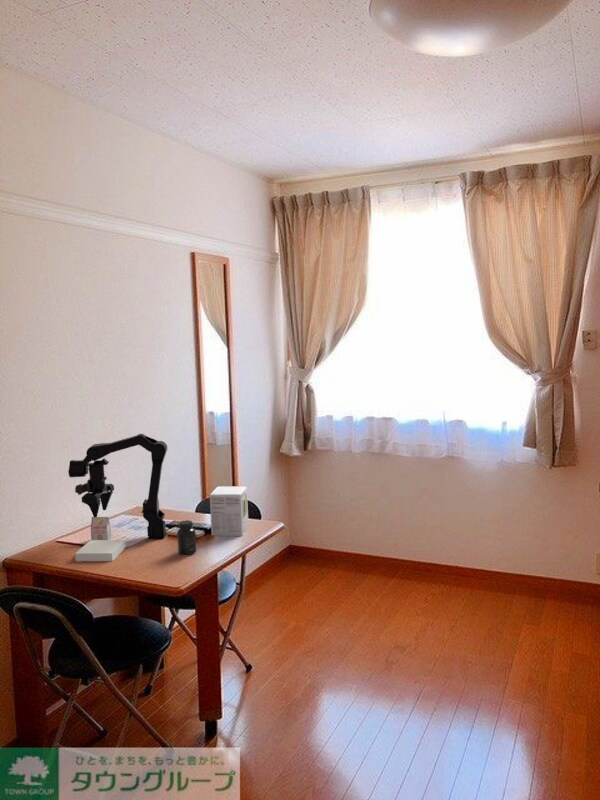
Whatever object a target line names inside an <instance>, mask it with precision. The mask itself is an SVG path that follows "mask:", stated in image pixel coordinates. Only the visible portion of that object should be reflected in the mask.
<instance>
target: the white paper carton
mask: <svg viewBox="0 0 600 800" xmlns="http://www.w3.org/2000/svg"><path fill="white" fill-rule="evenodd" d="M111 525H112V524H111V523H110V519H109V516H97V517H94V516H91V521H90V535H91V536H90V537H91V540H110V539H111V540H112V526H111Z"/></svg>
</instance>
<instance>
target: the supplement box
mask: <svg viewBox="0 0 600 800" xmlns="http://www.w3.org/2000/svg"><path fill="white" fill-rule="evenodd" d="M209 505H210V507H209V508H210V526H211V528H210V530H211V536H212V537H213V536H218V537H219V536H220V537H221V536H224V537H225V536H226V537H227V536H229V537H231V536H233V537H242V536H243V535H244V533H246V531H247V529H248V527H249V509H248V506H249V505H248V487H247V486H246V485H245V486H236V485H235V486H231V485H230V486H227V485H226V486H222V485H221V486H216V488H214V490H213V491H212V492H211V493H210V494H209Z"/></svg>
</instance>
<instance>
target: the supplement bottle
mask: <svg viewBox="0 0 600 800" xmlns="http://www.w3.org/2000/svg"><path fill="white" fill-rule="evenodd" d="M178 524H179V525H178V526H179V529H178V530H177V531H176V536H177V537H176V538H177V553H178V555H180V556H183V555H188V556H192V555H194V554H195V553H196V552H197V539H196V537H197V536H196V530H195V528H194V527H193V525H194V524H193V521H192V520H189V519H188V520H181V521H180V522H178Z"/></svg>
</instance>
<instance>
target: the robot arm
mask: <svg viewBox="0 0 600 800" xmlns="http://www.w3.org/2000/svg"><path fill="white" fill-rule="evenodd" d="M135 446H140V447H142V448H143V449H144V450H146V451H148V452H150V454H151V456H150V457H151V463H152V465H151V472H150V481H149V488H148V489H149V490H148V496H147V499H146V498H145V499H144V501H143V502H142V511H141V512H140V513H141V514H142V518H143V519H144V520H145V521H147V527H146V529H147V531H146V533H147V540H164V539H165V538H166V536H167V535H168V532H167V528H166V520H164V518H165V516H166V513H165V512H163V511H162V510H160V502H159V501H160V500H159V492H160V483H161V477H162V476H161V475H162V468H163V462H164V460H165V457H166V455H167V451H168V445H167V443H166V442H164V441H162V440H158V439H155V438H152V437H150V436H147V435H146V434H144V433H139V434H136V435H133V436H130V437H125V438H122V439H119V440H116V441H113V442H105V443H104V442H101V443H95V444H92V445H91V446H90V447H88V448H87V450H86V453H85V455H86V456H85V457H84V458H83V459H82V460H81V459H80V460H75V459H72V460H70V461H69V465H68V470H67V471H68V477H69V478H84V477H87V475H88V474H89V478H88V480H87V482H85V483H83V484H82V483H79V484H77V485H75V488H74V490H75V491H74V492H75V493H77V494H78V496H81V495H82V494H83V496H81V503H83V504H85V505H87V506H88V507H89V509H90V511H91V514H92V517H98V515H99V510H100V506H101V507H102V508H101V509H102V511H106V510H107V508H108V506H109V505H108V504H109V503H110V500H111V497H112V495H113V491H115V485H114V484H112V483H106V480H107V476H105V466H106V465H108V464H109V462H110V461H108V460H107V459H106V458H105V456H108V455H110V454H111V453H115V452H118V451H122V450H126V449H130V448H132V447H135ZM101 459H102V460H101ZM92 461H93V462H92ZM84 493H85V494H84Z"/></svg>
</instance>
